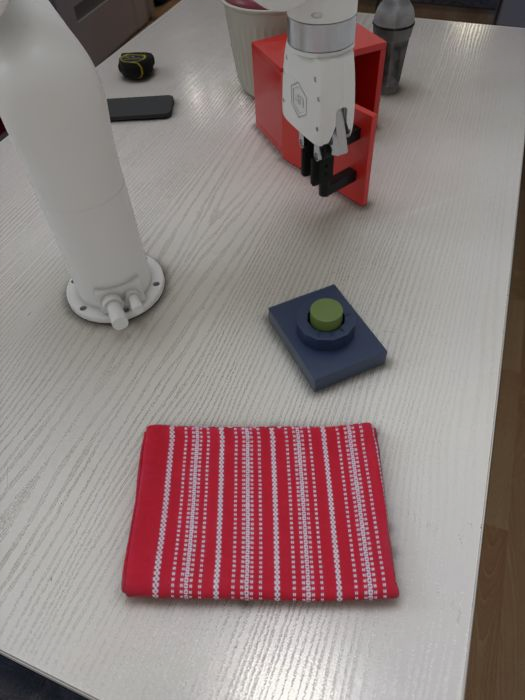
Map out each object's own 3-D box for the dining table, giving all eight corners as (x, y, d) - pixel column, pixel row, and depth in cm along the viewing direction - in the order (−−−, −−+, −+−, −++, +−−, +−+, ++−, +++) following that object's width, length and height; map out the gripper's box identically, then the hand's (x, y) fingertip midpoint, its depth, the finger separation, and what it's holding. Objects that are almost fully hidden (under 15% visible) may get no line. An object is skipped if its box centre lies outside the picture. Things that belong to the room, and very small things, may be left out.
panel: (385, 363, 61) (389, 340, 58) (314, 392, 59) (315, 370, 56) (333, 296, 69) (335, 272, 65) (268, 320, 67) (267, 296, 63)
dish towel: (149, 429, 57) (144, 416, 55) (375, 428, 56) (378, 414, 54) (119, 602, 46) (111, 593, 44) (398, 605, 45) (403, 596, 43)
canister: (340, 90, 103) (349, -42, 87) (262, 121, 97) (255, -15, 81) (285, 59, 113) (283, -65, 97) (210, 85, 107) (195, -42, 91)
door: (331, 224, 77) (336, 134, 67) (252, 173, 87) (246, 86, 76) (367, 203, 80) (377, 113, 70) (287, 156, 89) (285, 70, 79)
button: (347, 325, 61) (349, 314, 59) (319, 336, 60) (319, 325, 58) (332, 304, 63) (332, 294, 61) (304, 315, 62) (304, 304, 61)
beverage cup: (357, 91, 103) (369, -34, 87) (380, 77, 106) (394, -46, 91) (390, 102, 100) (407, -26, 84) (412, 87, 103) (433, -38, 87)
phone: (96, 99, 104) (173, 94, 103) (97, 103, 105) (174, 98, 104) (88, 118, 99) (169, 113, 99) (90, 122, 100) (170, 118, 99)
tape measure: (157, 67, 114) (153, 48, 111) (151, 82, 109) (147, 63, 106) (125, 68, 114) (120, 49, 111) (118, 83, 110) (113, 64, 107)
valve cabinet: (376, 128, 94) (387, 41, 83) (282, 155, 90) (281, 68, 79) (344, 101, 100) (350, 18, 90) (256, 126, 96) (251, 41, 86)
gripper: (258, 15, 63) (266, 158, 77) (329, 65, 54) (322, 217, 68) (314, 1, 65) (311, 143, 79) (392, 47, 56) (372, 199, 70)
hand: (316, 176), depth 74 cm, fingers closed on door
